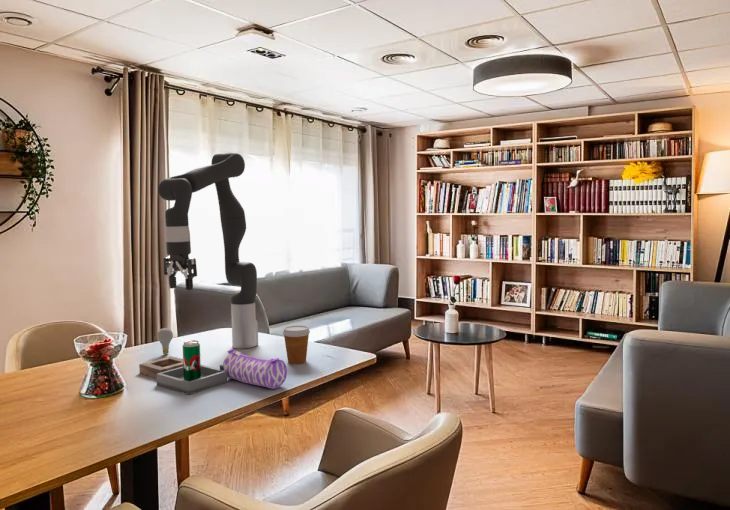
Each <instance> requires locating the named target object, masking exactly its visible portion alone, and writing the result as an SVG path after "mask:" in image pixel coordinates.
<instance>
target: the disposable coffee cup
mask: <svg viewBox="0 0 730 510" xmlns="http://www.w3.org/2000/svg"><path fill="white" fill-rule="evenodd" d="M310 332H311V330H310V328H309V326H307V325H290V326H289V325H288V326H286V327H284V328H283V330H282V334H283V337H284V344H285V351H286V357H287V363H288V364H290V365H301V363H302V364H305V363H306V362H307V355H308V346H309V344H308V343H309V337H310V336H309V335H310ZM304 362H305V363H304Z"/></svg>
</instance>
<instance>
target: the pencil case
mask: <svg viewBox="0 0 730 510" xmlns="http://www.w3.org/2000/svg"><path fill="white" fill-rule="evenodd" d="M227 353H228V355H227V356H226V357H225V358H224V360H223V362H222V364H221V365H220V364H219V369H220V370H225V371H227V378H228V379H231V380H236V381H239V382H241V383H244V384H249V385H254V386H259V387H264V388H268V389H272V390H273V389H275V390H276V389H278V388H280V387H281V386H282V385H283V384H284V383H285V381H286V379H287V376H288V369H287V366H286V362H285V361H284V360H282V359H280V358H279V357H276V358H270V359H263V358H259V357H254V356H249V355H246V354H243V352H241V351H237V350H235V348H232V349H229V350H227Z"/></svg>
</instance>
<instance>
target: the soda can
mask: <svg viewBox="0 0 730 510" xmlns="http://www.w3.org/2000/svg"><path fill="white" fill-rule="evenodd" d="M182 359H183V373H184V380H186V381H193V380H196V379H199V378H201V365H202V364H201V344H200V343H199V340H186V341H184V342H183V344H182Z"/></svg>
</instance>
